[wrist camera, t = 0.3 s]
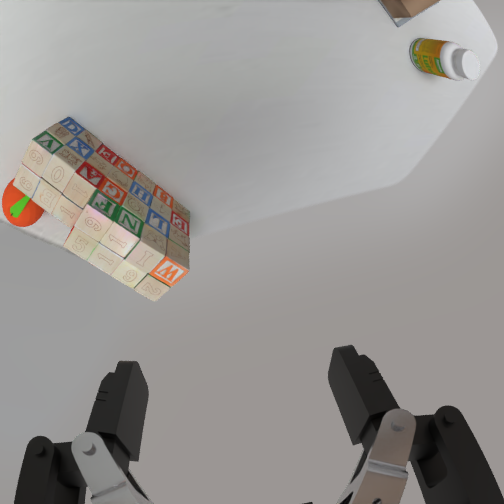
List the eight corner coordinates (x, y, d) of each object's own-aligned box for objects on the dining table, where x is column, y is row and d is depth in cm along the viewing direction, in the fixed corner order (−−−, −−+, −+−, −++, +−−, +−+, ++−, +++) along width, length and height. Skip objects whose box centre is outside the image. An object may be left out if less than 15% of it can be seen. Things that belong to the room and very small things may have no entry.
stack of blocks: (46, 153, 28) (-3, 198, 18) (69, 115, 26) (16, 147, 16) (163, 239, 40) (155, 304, 30) (191, 211, 38) (190, 273, 28)
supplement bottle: (403, 53, 26) (452, 62, 19) (419, 31, 24) (469, 36, 16) (424, 78, 29) (472, 94, 21) (439, 56, 26) (487, 68, 19)
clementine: (39, 152, 27) (12, 173, 22) (67, 189, 31) (46, 216, 26) (10, 184, 28) (-15, 209, 23) (36, 217, 33) (16, 246, 27)
